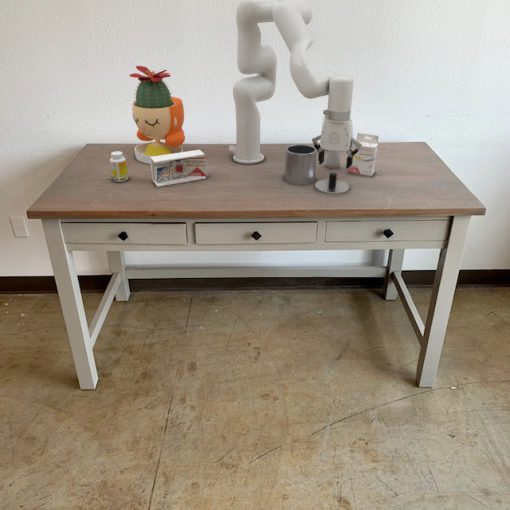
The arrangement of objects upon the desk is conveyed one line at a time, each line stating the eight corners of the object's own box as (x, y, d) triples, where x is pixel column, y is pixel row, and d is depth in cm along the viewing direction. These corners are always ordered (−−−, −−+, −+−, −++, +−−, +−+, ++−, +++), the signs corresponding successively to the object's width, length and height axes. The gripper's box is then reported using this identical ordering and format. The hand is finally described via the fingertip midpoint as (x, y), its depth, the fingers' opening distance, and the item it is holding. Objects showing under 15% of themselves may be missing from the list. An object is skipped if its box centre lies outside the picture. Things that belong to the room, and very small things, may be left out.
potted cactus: (166, 168, 188) (157, 73, 170) (124, 157, 198) (111, 67, 180) (199, 152, 204) (194, 64, 186) (159, 143, 214) (151, 59, 196)
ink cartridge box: (349, 173, 183) (353, 135, 176) (352, 169, 187) (356, 132, 179) (371, 177, 180) (376, 138, 172) (374, 173, 184) (379, 135, 176)
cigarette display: (156, 187, 172) (153, 161, 167) (152, 181, 177) (149, 156, 172) (209, 177, 180) (208, 153, 175) (204, 172, 184) (202, 149, 179)
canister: (280, 181, 176) (281, 151, 170) (291, 172, 185) (293, 142, 179) (308, 187, 172) (310, 156, 166) (318, 176, 181) (321, 147, 175)
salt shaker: (339, 170, 186) (342, 137, 179) (324, 169, 187) (327, 136, 180) (340, 165, 191) (343, 133, 184) (325, 164, 192) (328, 132, 185)
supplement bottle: (130, 176, 180) (126, 150, 175) (126, 182, 176) (122, 155, 170) (115, 176, 181) (111, 150, 175) (111, 182, 176) (106, 155, 170)
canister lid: (310, 191, 169) (310, 176, 166) (321, 180, 178) (322, 165, 175) (343, 198, 164) (344, 182, 161) (353, 185, 173) (354, 171, 170)
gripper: (309, 115, 158) (307, 165, 167) (361, 121, 151) (356, 172, 160) (317, 109, 164) (314, 158, 173) (367, 115, 157) (362, 165, 166)
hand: (334, 165), depth 166 cm, fingers open, 9 cm apart
